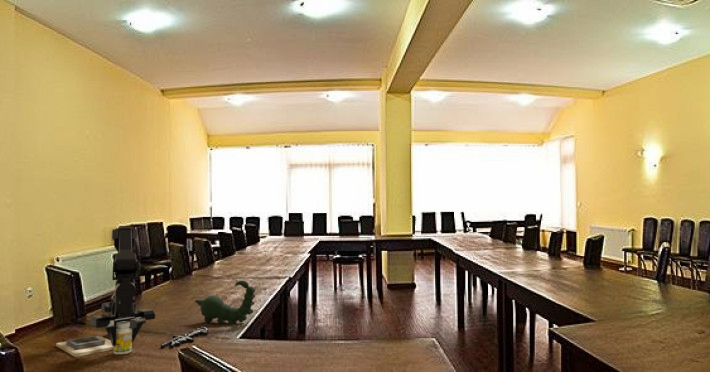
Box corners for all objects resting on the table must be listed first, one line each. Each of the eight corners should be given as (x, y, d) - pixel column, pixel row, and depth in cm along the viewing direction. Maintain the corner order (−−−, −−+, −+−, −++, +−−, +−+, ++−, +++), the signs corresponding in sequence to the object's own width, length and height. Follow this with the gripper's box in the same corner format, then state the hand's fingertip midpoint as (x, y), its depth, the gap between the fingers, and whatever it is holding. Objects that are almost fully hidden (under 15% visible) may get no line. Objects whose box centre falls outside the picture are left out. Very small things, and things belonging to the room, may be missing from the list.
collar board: (100, 338, 175) (100, 331, 176) (120, 348, 163) (121, 340, 164) (56, 346, 165) (56, 338, 165) (75, 357, 153) (75, 349, 153)
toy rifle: (192, 326, 191) (216, 327, 190) (192, 330, 191) (216, 331, 190) (153, 344, 164) (181, 346, 163) (153, 349, 164) (181, 350, 163)
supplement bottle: (134, 351, 159) (135, 322, 159) (119, 355, 154) (120, 325, 155) (125, 349, 162) (126, 319, 162) (109, 352, 157) (110, 322, 158)
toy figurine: (254, 325, 206) (197, 318, 208) (258, 280, 206) (202, 273, 209) (247, 330, 196) (187, 323, 199) (252, 283, 197) (193, 276, 200)
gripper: (141, 289, 171) (140, 334, 170) (84, 296, 157) (82, 345, 157) (156, 293, 164) (155, 340, 163) (97, 300, 150) (95, 352, 149)
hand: (122, 344), depth 158 cm, fingers closed on supplement bottle, 5 cm apart
